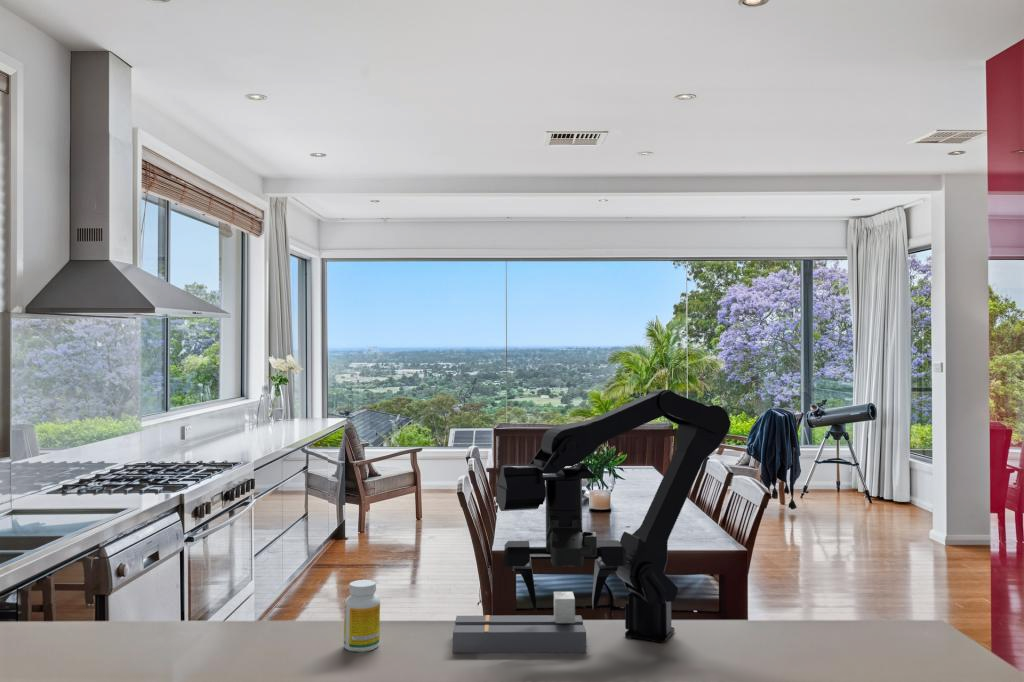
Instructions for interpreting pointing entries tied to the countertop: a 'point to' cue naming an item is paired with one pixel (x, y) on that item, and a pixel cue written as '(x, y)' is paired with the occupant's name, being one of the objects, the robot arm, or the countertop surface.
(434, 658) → the countertop surface
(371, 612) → the supplement bottle
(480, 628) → the fader console
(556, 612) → the fader tab
